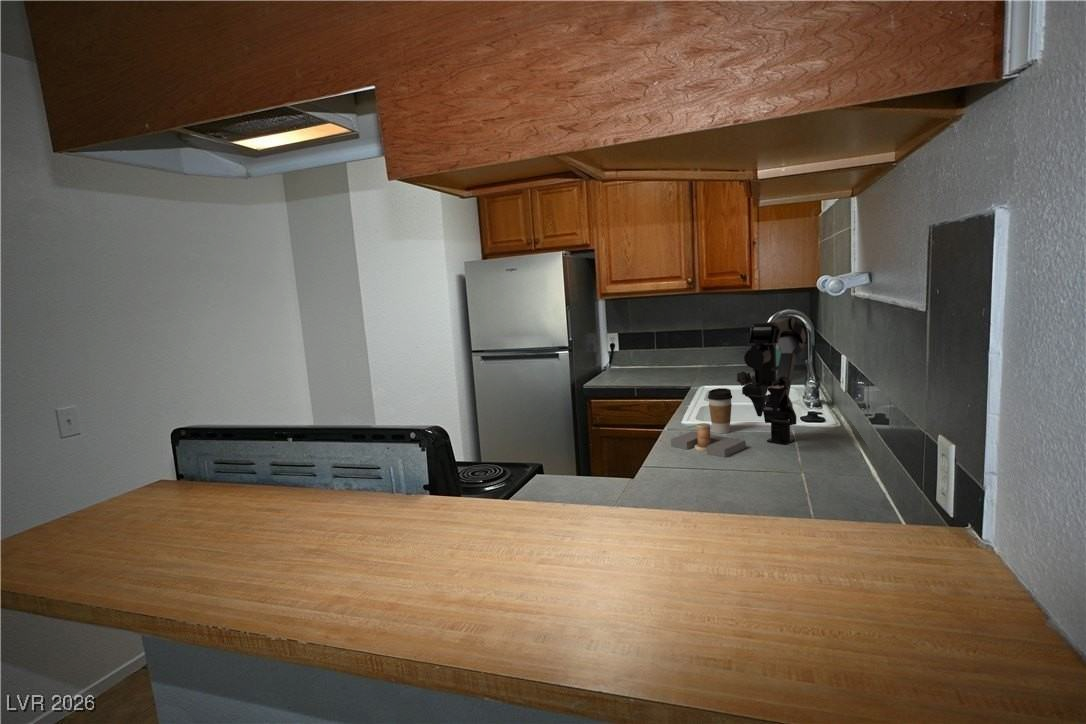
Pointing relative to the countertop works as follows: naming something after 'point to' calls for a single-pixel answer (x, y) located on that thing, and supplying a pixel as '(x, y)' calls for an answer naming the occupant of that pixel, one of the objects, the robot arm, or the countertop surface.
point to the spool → (703, 437)
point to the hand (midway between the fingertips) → (767, 413)
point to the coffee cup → (720, 409)
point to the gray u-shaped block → (717, 447)
